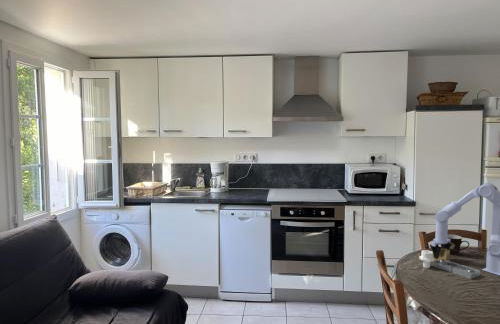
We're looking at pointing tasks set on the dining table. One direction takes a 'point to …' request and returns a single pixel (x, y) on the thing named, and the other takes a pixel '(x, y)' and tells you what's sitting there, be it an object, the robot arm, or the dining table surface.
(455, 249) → the coffee mug
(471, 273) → the grey slotted frame
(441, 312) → the dining table surface
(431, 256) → the pipe fitting
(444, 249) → the gold bar with studs
